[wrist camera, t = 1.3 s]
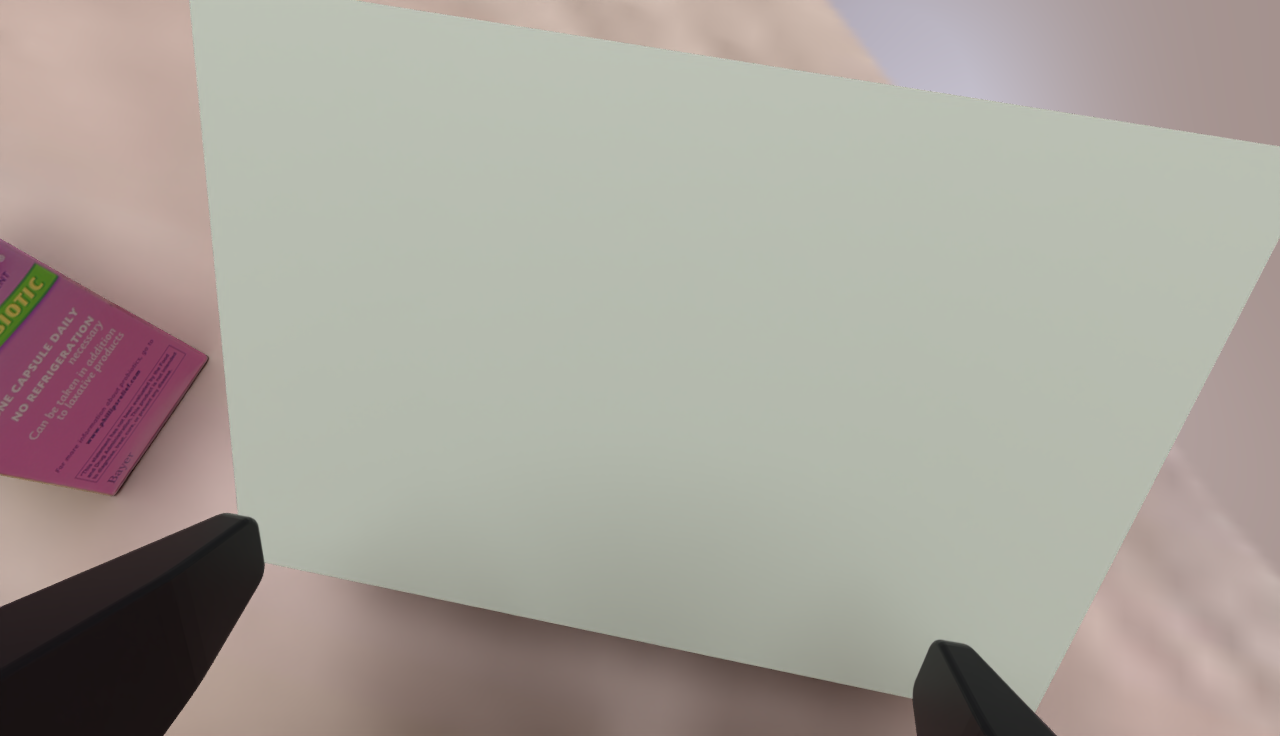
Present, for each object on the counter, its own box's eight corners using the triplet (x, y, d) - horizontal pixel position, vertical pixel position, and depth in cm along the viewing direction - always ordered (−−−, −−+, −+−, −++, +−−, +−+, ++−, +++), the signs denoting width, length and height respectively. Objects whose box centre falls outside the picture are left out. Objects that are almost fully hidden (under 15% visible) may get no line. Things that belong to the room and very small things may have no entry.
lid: (1015, 693, 16) (1029, 723, 15) (263, 538, 17) (241, 557, 16) (1283, 149, 11) (1322, 153, 10) (219, -19, 12) (186, -27, 11)
